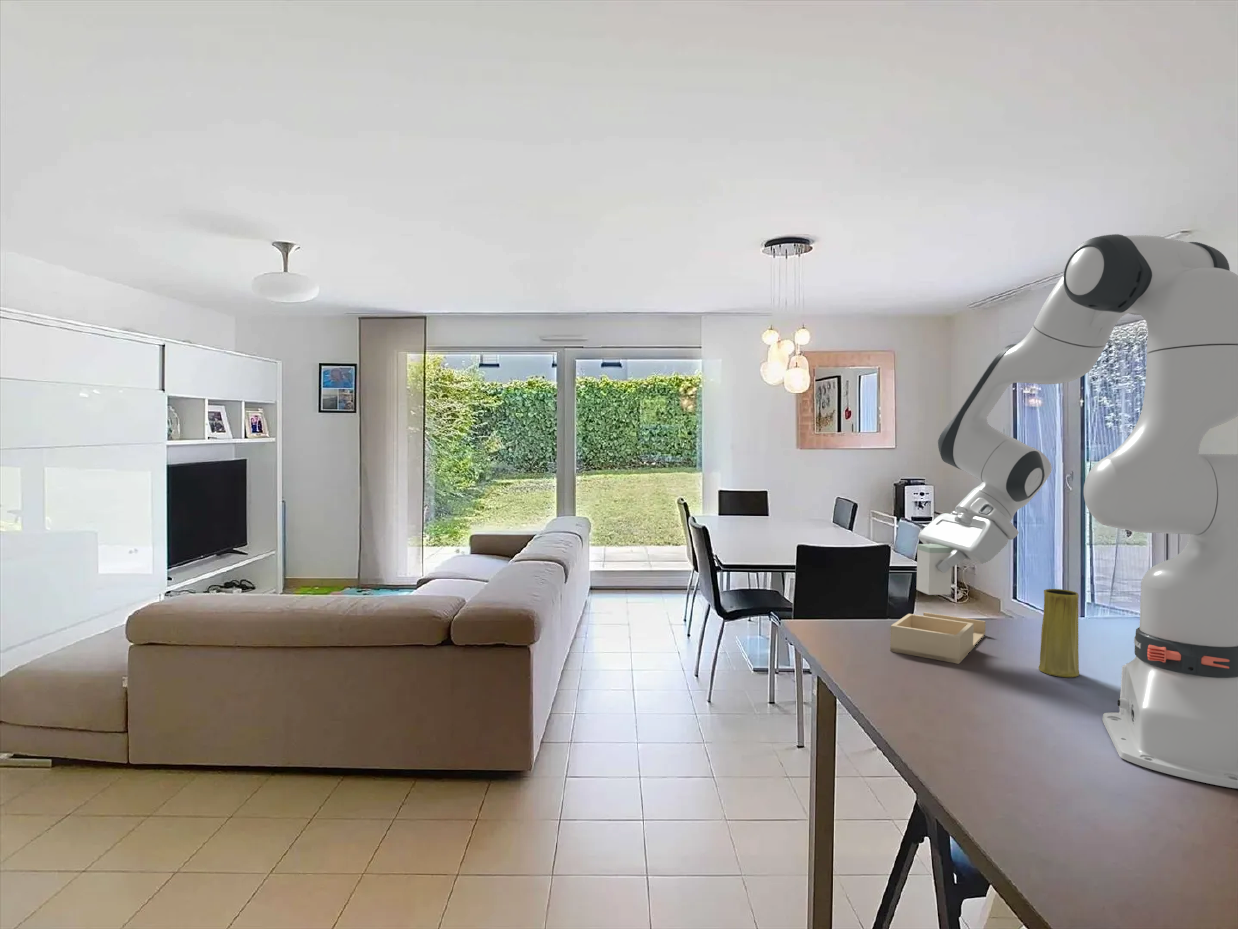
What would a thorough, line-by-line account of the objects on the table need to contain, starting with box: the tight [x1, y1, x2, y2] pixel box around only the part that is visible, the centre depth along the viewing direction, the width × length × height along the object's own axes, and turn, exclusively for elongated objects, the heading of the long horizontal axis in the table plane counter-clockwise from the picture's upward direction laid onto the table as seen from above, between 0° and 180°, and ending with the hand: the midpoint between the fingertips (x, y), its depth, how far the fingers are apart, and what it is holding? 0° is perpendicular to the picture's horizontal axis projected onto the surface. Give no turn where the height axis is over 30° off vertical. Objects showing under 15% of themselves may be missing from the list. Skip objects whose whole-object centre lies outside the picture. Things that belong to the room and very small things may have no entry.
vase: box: [1038, 588, 1080, 679], centre depth 124 cm, size 6×6×14 cm
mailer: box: [889, 611, 987, 665], centre depth 142 cm, size 24×12×5 cm, turn 143°
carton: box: [915, 543, 953, 596], centre depth 137 cm, size 4×4×9 cm
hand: (931, 567), depth 137 cm, fingers closed on carton, 4 cm apart
